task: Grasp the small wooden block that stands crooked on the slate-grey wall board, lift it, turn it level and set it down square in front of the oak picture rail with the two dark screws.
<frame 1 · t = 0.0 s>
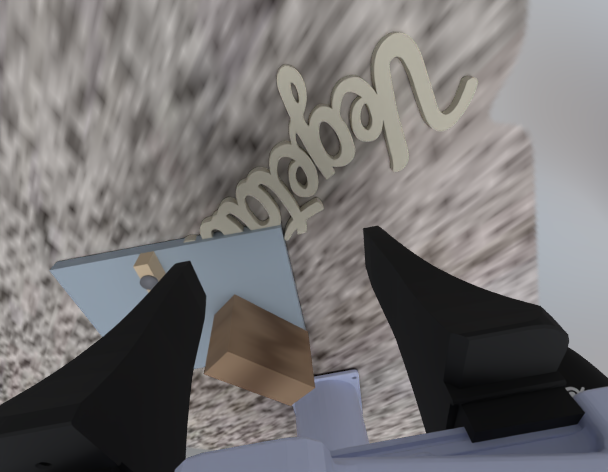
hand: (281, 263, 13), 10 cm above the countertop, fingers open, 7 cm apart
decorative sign: (279, 181, 23), on the countertop
wall board: (199, 305, 28), on the countertop
mug: (524, 364, 39), on the countertop
wooden block: (262, 323, 29), point 1 cm above the countertop, touching wall board
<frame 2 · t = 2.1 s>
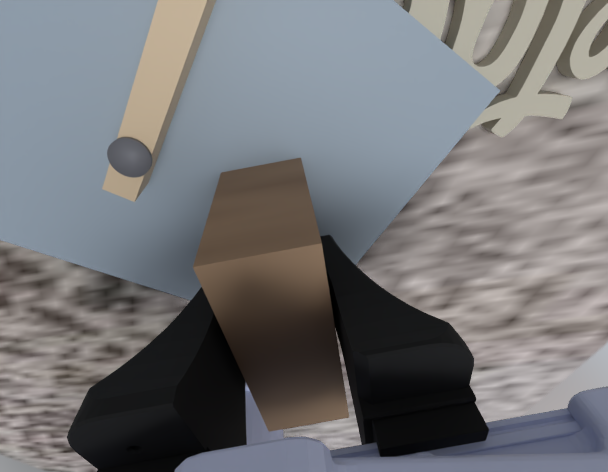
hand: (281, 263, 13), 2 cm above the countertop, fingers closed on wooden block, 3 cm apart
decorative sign: (545, 14, 11), on the countertop
wall board: (194, 137, 12), on the countertop
wooden block: (282, 250, 14), point 1 cm above the countertop, touching gripper, wall board
when the fingers open (3 cm above the countertop, at t = 5.0 s): wooden block stays where it is, resting on wall board.
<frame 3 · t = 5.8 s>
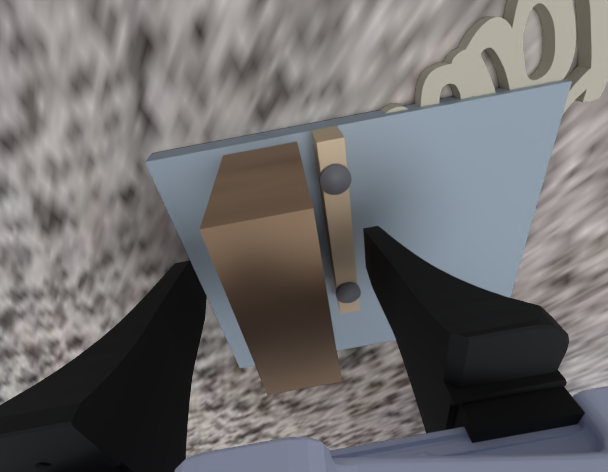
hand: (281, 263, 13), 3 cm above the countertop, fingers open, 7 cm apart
wall board: (361, 248, 17), on the countertop
wooden block: (279, 230, 15), point 1 cm above the countertop, touching wall board
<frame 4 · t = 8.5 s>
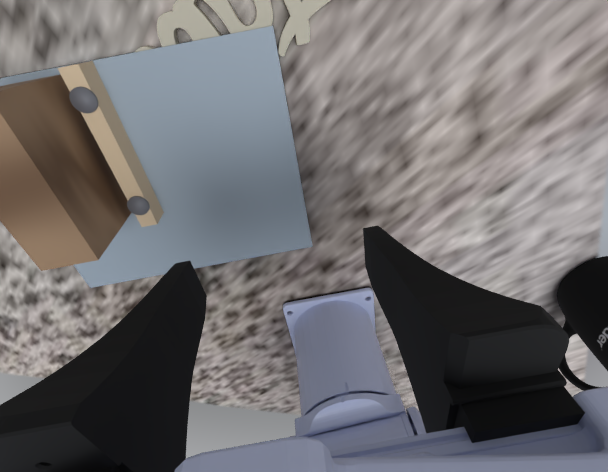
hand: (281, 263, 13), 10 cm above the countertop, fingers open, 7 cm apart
wall board: (167, 176, 21), on the countertop
mug: (574, 290, 32), on the countertop
wooden block: (78, 153, 19), point 1 cm above the countertop, touching wall board
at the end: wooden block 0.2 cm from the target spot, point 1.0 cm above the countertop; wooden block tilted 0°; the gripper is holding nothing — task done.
